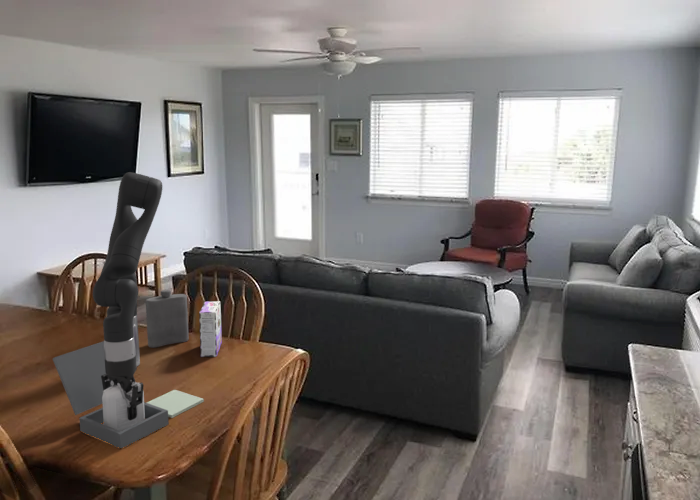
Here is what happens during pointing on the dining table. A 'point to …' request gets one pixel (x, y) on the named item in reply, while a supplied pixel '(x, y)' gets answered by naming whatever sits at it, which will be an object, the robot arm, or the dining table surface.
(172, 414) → the mat
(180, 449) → the dining table surface
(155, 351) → the dining table surface
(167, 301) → the flask
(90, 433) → the case
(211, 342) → the candy box
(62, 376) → the case lid
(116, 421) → the white slotted device
